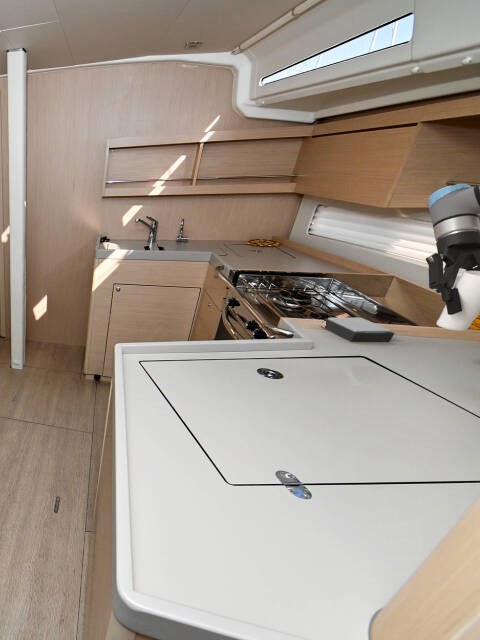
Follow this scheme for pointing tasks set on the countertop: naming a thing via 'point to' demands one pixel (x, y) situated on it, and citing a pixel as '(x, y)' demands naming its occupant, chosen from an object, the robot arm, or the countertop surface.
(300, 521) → the countertop surface
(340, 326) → the kitchen scale
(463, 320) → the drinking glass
